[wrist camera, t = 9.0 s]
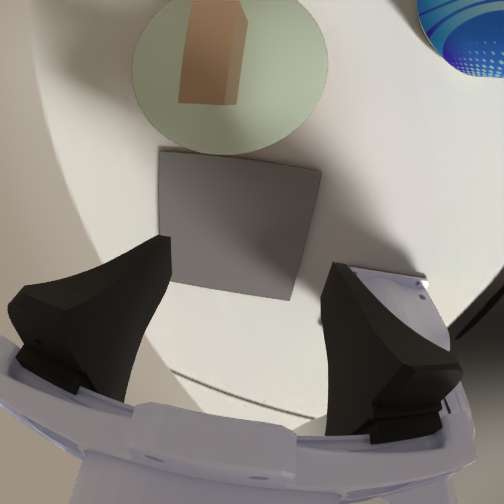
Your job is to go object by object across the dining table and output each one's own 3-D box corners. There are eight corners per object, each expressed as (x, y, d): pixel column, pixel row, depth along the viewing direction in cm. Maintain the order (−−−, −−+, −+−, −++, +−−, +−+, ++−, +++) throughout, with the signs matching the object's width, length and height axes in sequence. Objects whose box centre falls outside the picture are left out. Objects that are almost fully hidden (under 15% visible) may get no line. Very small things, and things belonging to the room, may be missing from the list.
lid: (336, -4, 9) (353, -31, 6) (309, 166, 15) (318, 188, 12) (149, -11, 9) (116, -31, 6) (131, 147, 15) (94, 164, 12)
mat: (320, 171, 19) (321, 173, 19) (289, 297, 25) (289, 300, 25) (162, 150, 19) (159, 151, 19) (164, 276, 26) (162, 279, 25)
